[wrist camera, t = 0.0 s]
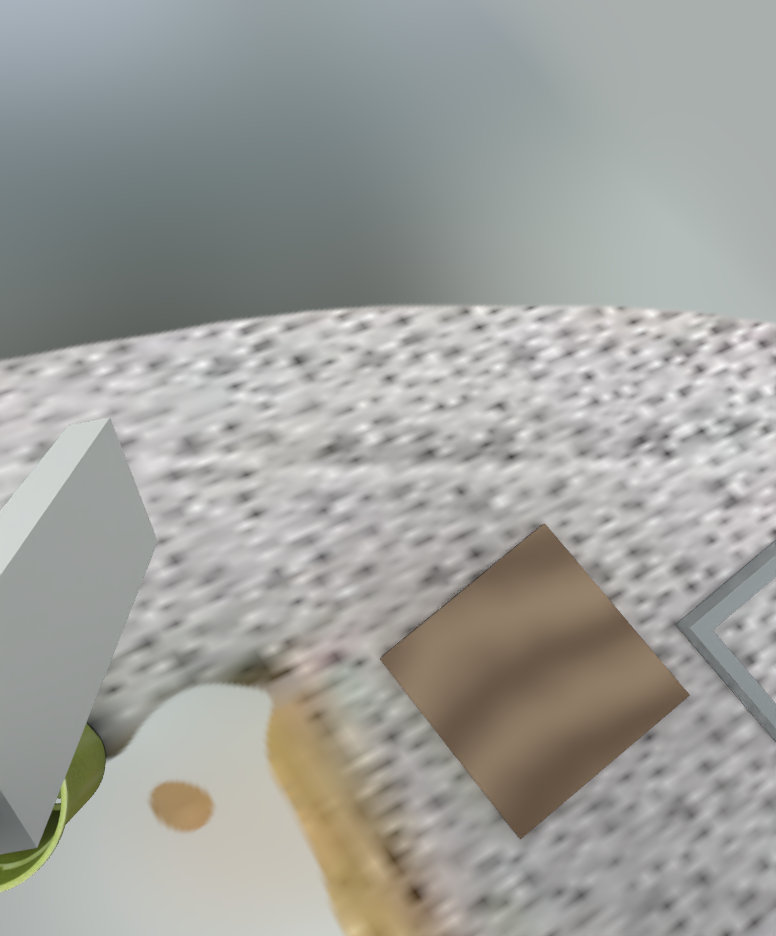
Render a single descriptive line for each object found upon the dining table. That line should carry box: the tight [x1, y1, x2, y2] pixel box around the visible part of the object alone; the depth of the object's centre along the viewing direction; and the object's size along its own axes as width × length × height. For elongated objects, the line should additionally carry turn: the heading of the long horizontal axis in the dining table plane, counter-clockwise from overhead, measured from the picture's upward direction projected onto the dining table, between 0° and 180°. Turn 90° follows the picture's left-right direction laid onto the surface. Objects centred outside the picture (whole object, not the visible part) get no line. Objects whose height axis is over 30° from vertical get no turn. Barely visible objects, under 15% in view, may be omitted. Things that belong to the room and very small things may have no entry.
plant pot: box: [0, 723, 106, 892], centre depth 44 cm, size 9×9×9 cm
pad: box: [380, 524, 690, 839], centre depth 47 cm, size 14×14×1 cm
